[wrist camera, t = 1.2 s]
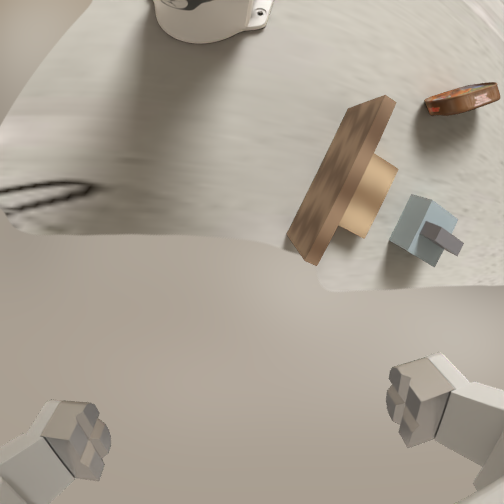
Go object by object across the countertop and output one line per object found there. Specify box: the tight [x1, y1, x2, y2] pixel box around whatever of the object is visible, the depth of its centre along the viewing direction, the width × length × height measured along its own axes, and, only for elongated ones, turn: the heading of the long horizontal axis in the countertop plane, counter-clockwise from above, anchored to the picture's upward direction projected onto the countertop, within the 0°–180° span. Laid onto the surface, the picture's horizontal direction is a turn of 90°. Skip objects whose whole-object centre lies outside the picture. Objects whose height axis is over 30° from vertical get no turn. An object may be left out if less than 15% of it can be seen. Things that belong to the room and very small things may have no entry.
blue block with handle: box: [389, 194, 464, 267], centre depth 41 cm, size 8×6×10 cm
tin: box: [424, 82, 500, 116], centre depth 36 cm, size 15×3×8 cm, turn 115°
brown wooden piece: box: [287, 95, 398, 266], centre depth 38 cm, size 20×10×12 cm, turn 155°
